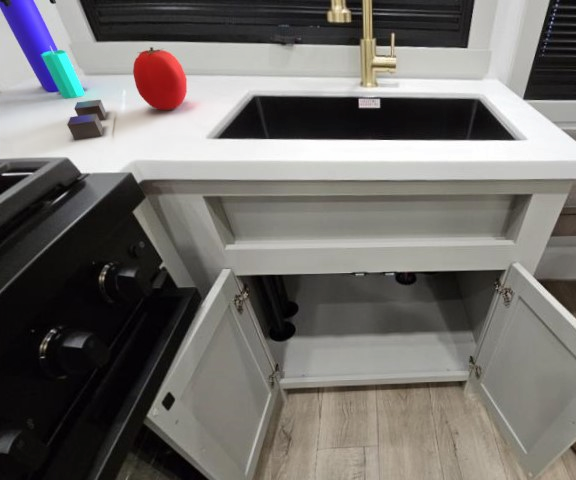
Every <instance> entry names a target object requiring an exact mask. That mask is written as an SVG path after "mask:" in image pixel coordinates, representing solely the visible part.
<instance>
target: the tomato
mask: <svg viewBox="0 0 576 480" xmlns="http://www.w3.org/2000/svg"><path fill="white" fill-rule="evenodd" d="M132 72H133V79H134V82H135V87H136V89H137V92H138V94H139V95H140V97H141V98H142V99H143V100H144V101H145V102H146V103H147V104H148V105H149V106H150V107H152V108H153V109H157V110H160V111H170V110H174V109H176V108H178V107H180V106H181V105H182V104H183V102H184V100H185V99H186V95H187V93H188V92H187V91H188V90H187V89H188V87H187V86H188V85H187V84H188V83H187V81H188V80H187V76H186V73H185V71H184V68H183V67H182V64H181V63H180V61H179V60H178V59H177V58H176V57H175V56H174V55H173V54H172V53H171V52H169V51H167V50H164V49H163V48H161V49H154V47H153V46H150V47H149V49H148V50H147V49H146V50H143V51H139V52H138V55H137V57H135V59H134V62H133V69H132Z"/></svg>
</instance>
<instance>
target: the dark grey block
mask: <svg viewBox="0 0 576 480" xmlns="http://www.w3.org/2000/svg"><path fill="white" fill-rule="evenodd" d="M66 126H67V128H68V130H69V131H70V133H71V135H72V137H73V139H74V141H79V140H85V139H93V138H100V137H102V136H103V133H104V127H103V124H102V122H101V120H99V118H98V115H97V114H90V115H82V116H78V115H76V116H75V115H74V116H70V117H69V120H68V122H67V123H66Z"/></svg>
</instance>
